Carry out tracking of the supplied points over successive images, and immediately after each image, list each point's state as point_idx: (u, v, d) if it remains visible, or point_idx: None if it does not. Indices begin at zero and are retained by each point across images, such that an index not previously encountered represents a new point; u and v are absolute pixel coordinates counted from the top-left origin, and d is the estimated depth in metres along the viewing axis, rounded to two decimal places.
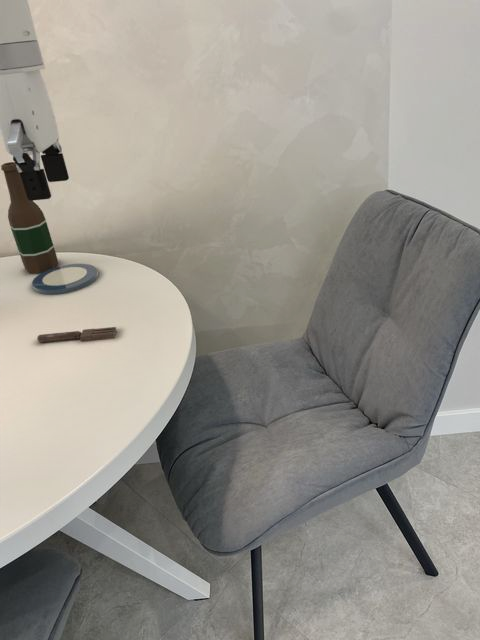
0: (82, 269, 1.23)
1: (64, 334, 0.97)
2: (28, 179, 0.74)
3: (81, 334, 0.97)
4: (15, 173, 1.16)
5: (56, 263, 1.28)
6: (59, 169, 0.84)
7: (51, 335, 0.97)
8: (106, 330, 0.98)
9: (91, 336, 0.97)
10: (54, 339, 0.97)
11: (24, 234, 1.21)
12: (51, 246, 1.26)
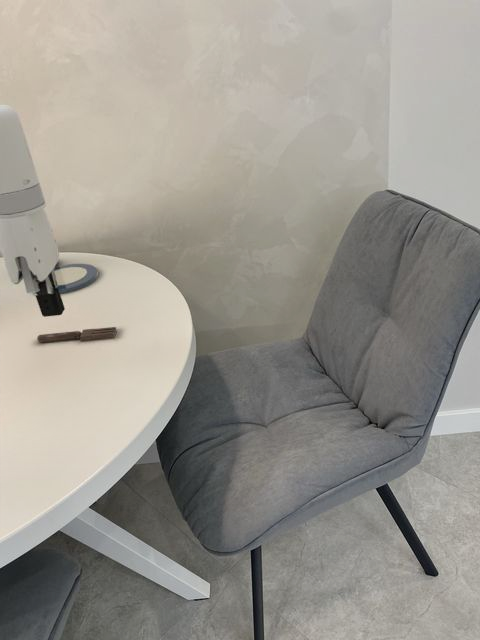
0: (82, 269, 1.23)
1: (64, 334, 0.97)
2: (42, 300, 0.85)
3: (81, 334, 0.97)
4: None
5: None
6: None
7: (51, 335, 0.97)
8: (106, 330, 0.98)
9: (91, 336, 0.97)
10: (54, 339, 0.97)
11: None
12: None
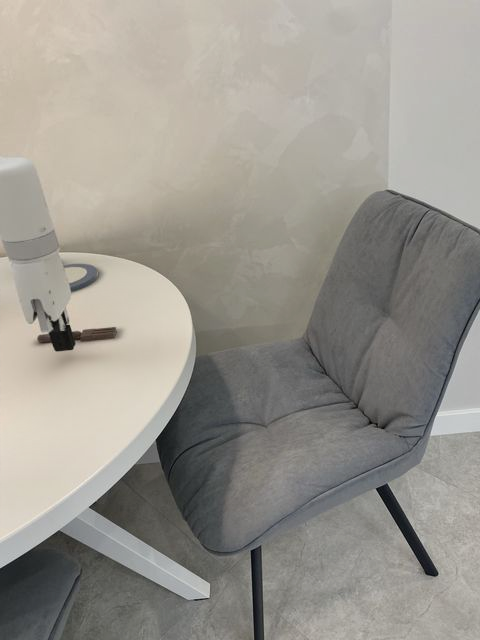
0: (82, 269, 1.23)
1: None
2: (55, 337, 0.89)
3: (81, 334, 0.97)
4: None
5: None
6: None
7: None
8: (106, 330, 0.98)
9: (91, 336, 0.97)
10: None
11: None
12: None
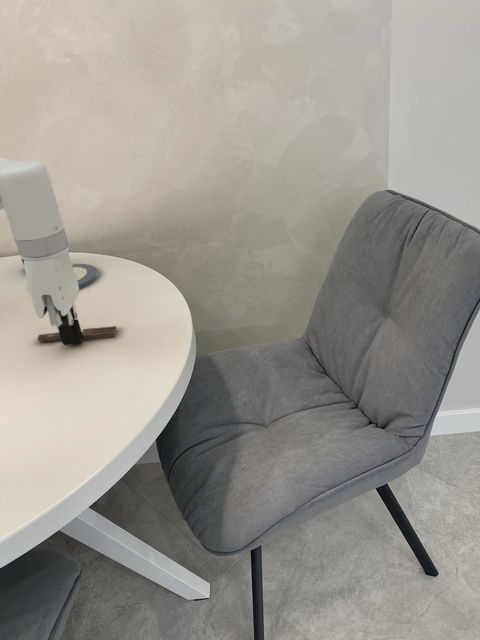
0: (82, 269, 1.23)
1: None
2: (64, 331, 0.93)
3: None
4: None
5: None
6: None
7: (51, 335, 0.97)
8: (106, 329, 0.98)
9: (92, 335, 0.97)
10: (54, 339, 0.98)
11: None
12: None
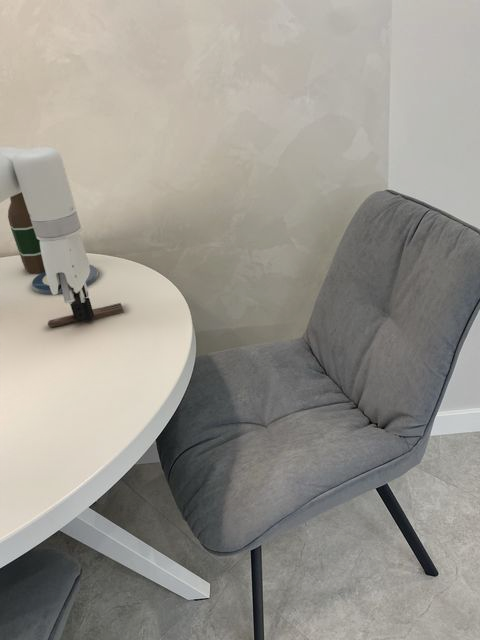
0: None
1: None
2: (76, 308, 1.00)
3: None
4: None
5: None
6: None
7: (62, 318, 1.03)
8: (113, 306, 1.06)
9: (102, 313, 1.04)
10: (65, 322, 1.03)
11: (24, 234, 1.21)
12: None
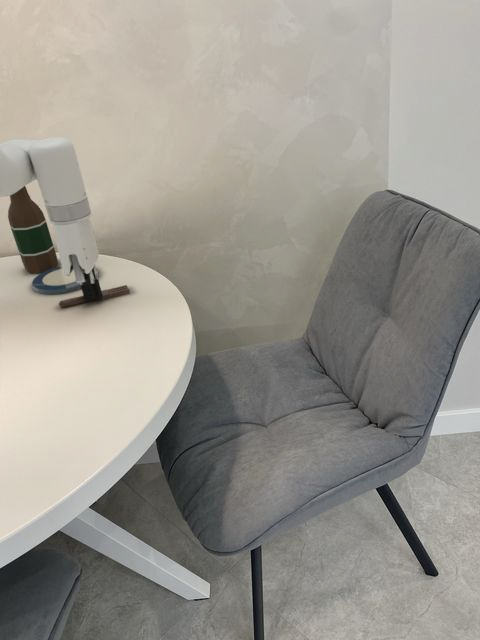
0: None
1: None
2: (86, 289, 1.07)
3: None
4: None
5: (56, 263, 1.28)
6: None
7: (72, 299, 1.09)
8: (120, 288, 1.13)
9: (109, 294, 1.11)
10: (75, 302, 1.10)
11: (24, 234, 1.21)
12: (51, 246, 1.26)
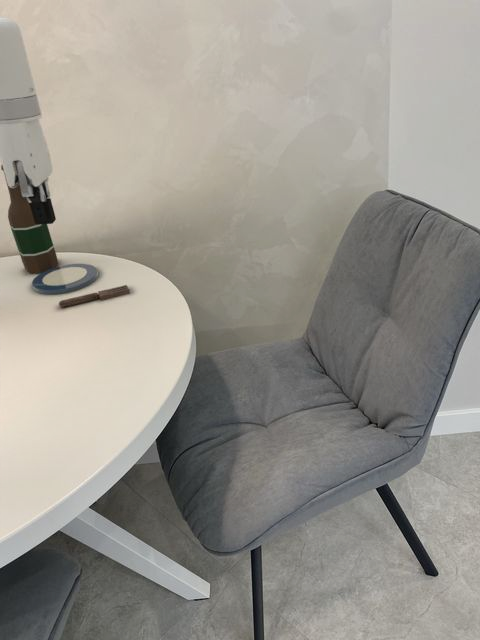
0: (82, 269, 1.23)
1: (84, 296, 1.10)
2: (35, 208, 0.93)
3: (99, 294, 1.11)
4: None
5: (56, 263, 1.28)
6: None
7: (72, 299, 1.09)
8: (120, 288, 1.13)
9: (109, 294, 1.11)
10: (75, 302, 1.10)
11: (24, 234, 1.21)
12: (51, 246, 1.26)
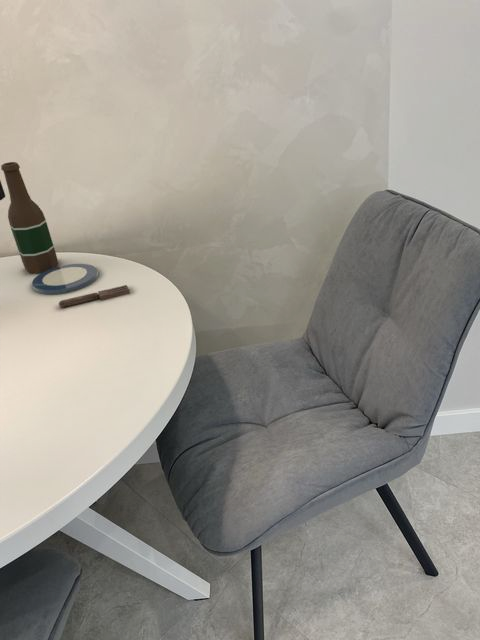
0: (82, 269, 1.23)
1: (84, 296, 1.10)
2: None
3: (99, 294, 1.11)
4: (15, 173, 1.16)
5: (56, 263, 1.28)
6: None
7: (72, 299, 1.09)
8: (120, 288, 1.13)
9: (109, 294, 1.11)
10: (75, 302, 1.10)
11: (24, 234, 1.21)
12: (51, 246, 1.26)
